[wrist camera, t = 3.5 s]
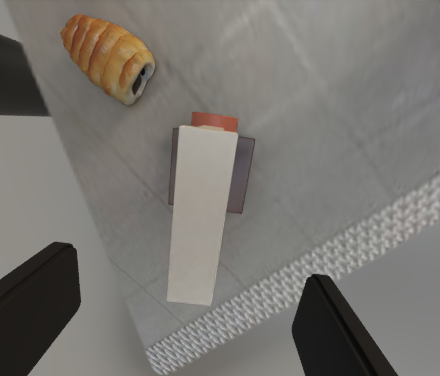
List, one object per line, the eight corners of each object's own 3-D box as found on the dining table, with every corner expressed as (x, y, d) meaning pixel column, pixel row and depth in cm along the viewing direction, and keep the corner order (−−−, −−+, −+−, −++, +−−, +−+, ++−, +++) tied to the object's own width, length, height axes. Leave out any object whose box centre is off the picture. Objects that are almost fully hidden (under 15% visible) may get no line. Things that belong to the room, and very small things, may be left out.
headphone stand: (170, 201, 29) (127, 269, 16) (175, 127, 26) (127, 134, 13) (240, 210, 30) (257, 283, 16) (253, 138, 27) (287, 155, 13)
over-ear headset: (184, 230, 26) (157, 311, 15) (195, 112, 22) (168, 104, 11) (219, 235, 26) (217, 317, 15) (236, 118, 22) (252, 115, 11)
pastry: (63, 61, 24) (35, 50, 20) (87, 1, 22) (61, -22, 19) (136, 110, 26) (122, 107, 22) (163, 58, 24) (153, 46, 20)
